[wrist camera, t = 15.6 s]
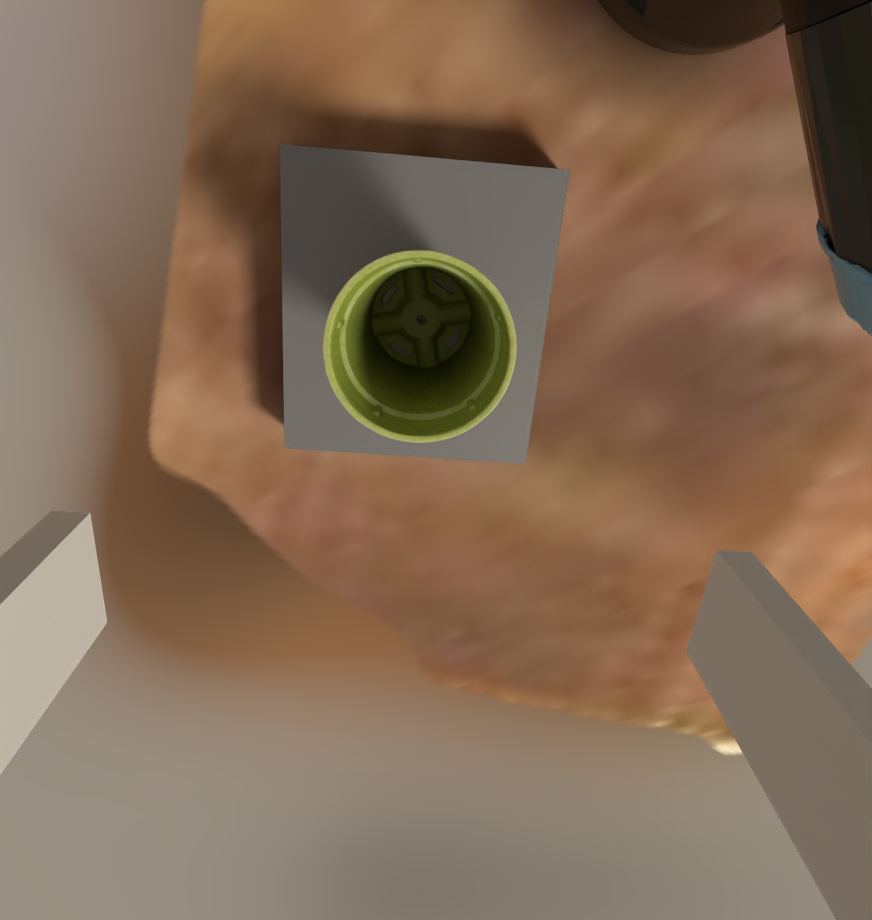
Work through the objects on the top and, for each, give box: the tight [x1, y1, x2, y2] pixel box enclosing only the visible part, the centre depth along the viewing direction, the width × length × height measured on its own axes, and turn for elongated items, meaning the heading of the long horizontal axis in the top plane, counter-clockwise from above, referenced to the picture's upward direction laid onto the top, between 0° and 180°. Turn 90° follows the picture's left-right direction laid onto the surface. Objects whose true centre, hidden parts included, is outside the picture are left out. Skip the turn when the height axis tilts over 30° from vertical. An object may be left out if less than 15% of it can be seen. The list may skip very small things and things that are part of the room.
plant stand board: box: [280, 144, 570, 464], centre depth 40 cm, size 18×16×3 cm
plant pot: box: [323, 250, 517, 443], centre depth 35 cm, size 9×9×9 cm
